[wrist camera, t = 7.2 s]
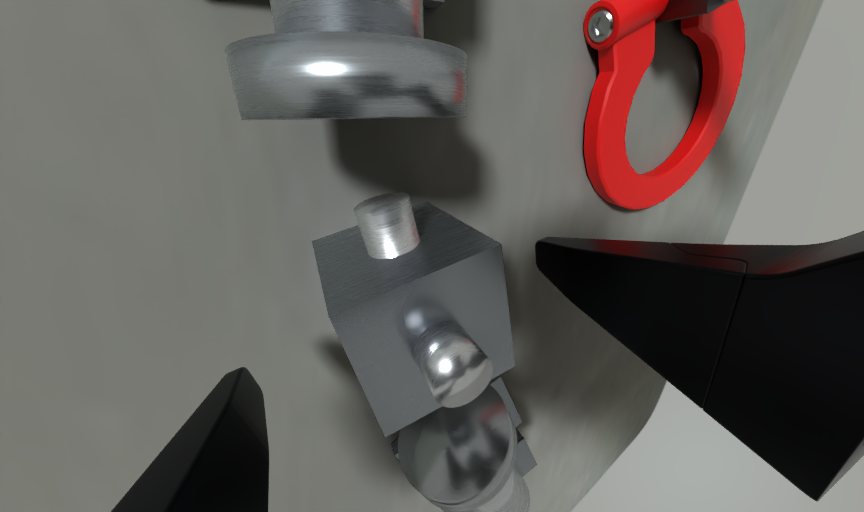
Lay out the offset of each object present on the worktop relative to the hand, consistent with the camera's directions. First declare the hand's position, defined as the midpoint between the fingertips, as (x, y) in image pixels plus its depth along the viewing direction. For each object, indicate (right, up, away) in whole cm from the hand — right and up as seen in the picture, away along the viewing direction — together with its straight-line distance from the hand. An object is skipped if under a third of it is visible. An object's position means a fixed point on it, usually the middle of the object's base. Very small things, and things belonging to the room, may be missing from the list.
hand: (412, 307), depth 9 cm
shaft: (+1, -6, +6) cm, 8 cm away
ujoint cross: (-1, +1, +2) cm, 3 cm away
